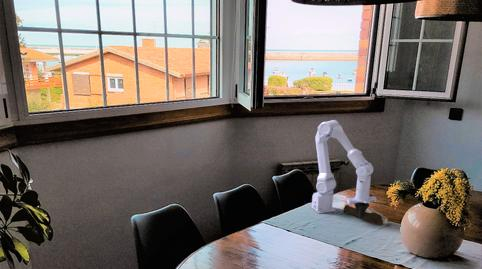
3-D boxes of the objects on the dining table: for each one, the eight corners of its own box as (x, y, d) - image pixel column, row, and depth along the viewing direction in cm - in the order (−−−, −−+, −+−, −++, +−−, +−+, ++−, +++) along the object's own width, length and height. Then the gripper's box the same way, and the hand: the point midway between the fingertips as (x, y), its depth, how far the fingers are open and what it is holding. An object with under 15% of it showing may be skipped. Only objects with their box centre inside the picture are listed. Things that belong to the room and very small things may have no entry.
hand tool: (342, 213, 173) (343, 204, 172) (347, 211, 175) (348, 202, 174) (378, 227, 159) (380, 218, 158) (383, 225, 161) (384, 215, 160)
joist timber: (381, 224, 162) (382, 218, 161) (365, 213, 173) (365, 208, 172) (387, 223, 162) (387, 218, 162) (370, 212, 174) (370, 207, 173)
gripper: (354, 193, 156) (351, 222, 159) (382, 191, 160) (378, 219, 163) (345, 188, 163) (342, 216, 165) (372, 185, 167) (369, 213, 170)
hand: (360, 217), depth 165 cm, fingers closed
